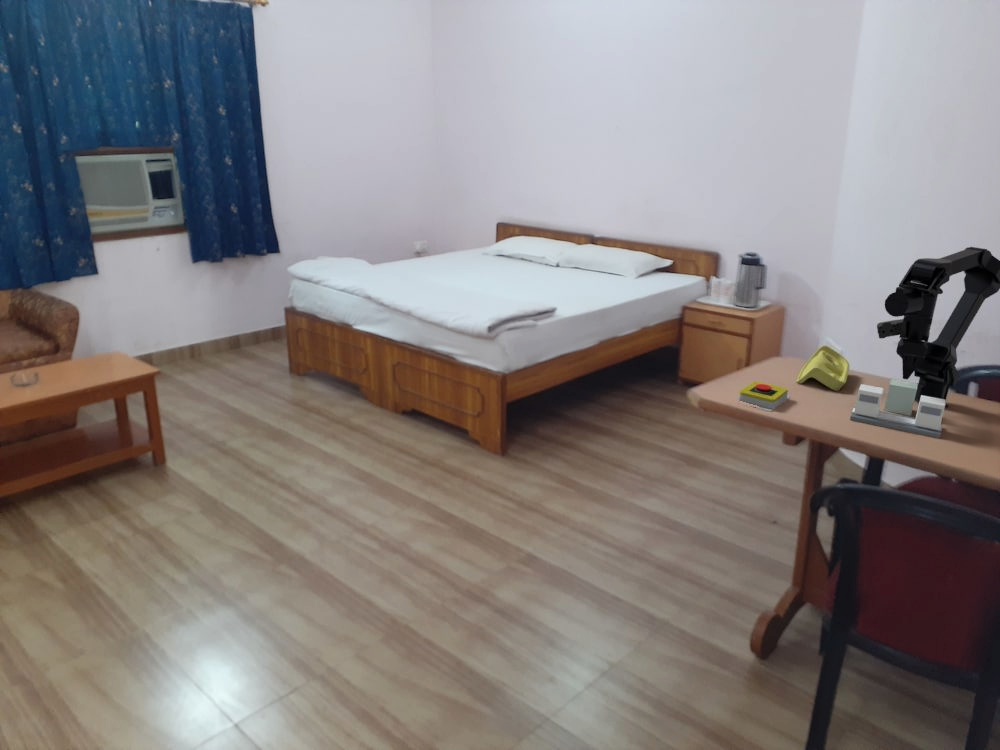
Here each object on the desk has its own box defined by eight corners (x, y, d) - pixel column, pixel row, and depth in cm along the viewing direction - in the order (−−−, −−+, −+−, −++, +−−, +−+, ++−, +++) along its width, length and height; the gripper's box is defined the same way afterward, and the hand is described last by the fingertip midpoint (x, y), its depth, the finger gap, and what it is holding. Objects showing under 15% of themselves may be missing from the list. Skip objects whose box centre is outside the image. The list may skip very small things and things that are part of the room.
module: (911, 409, 186) (917, 383, 184) (910, 415, 182) (917, 389, 180) (885, 404, 189) (891, 379, 187) (883, 410, 185) (889, 384, 183)
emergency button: (736, 388, 185) (757, 374, 196) (734, 404, 186) (755, 390, 198) (773, 397, 179) (793, 382, 191) (770, 414, 181) (790, 398, 192)
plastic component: (845, 385, 196) (811, 363, 198) (827, 405, 200) (795, 384, 202) (851, 361, 212) (820, 341, 214) (834, 380, 216) (804, 360, 218)
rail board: (940, 427, 175) (947, 398, 173) (940, 438, 169) (947, 408, 166) (853, 410, 184) (859, 382, 182) (849, 419, 178) (855, 391, 175)
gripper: (885, 300, 189) (873, 358, 194) (879, 315, 174) (866, 377, 179) (935, 307, 184) (921, 366, 189) (933, 322, 168) (918, 387, 173)
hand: (906, 374), depth 183 cm, fingers open, 9 cm apart
